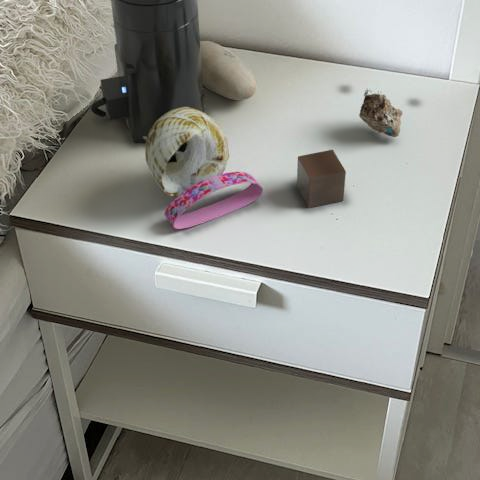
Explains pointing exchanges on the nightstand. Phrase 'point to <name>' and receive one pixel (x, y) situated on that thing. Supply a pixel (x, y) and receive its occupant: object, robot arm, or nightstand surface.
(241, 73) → the stone
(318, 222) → the nightstand surface
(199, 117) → the seashell
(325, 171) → the brown cube block
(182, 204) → the headband
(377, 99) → the rock
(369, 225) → the nightstand surface
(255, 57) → the nightstand surface
